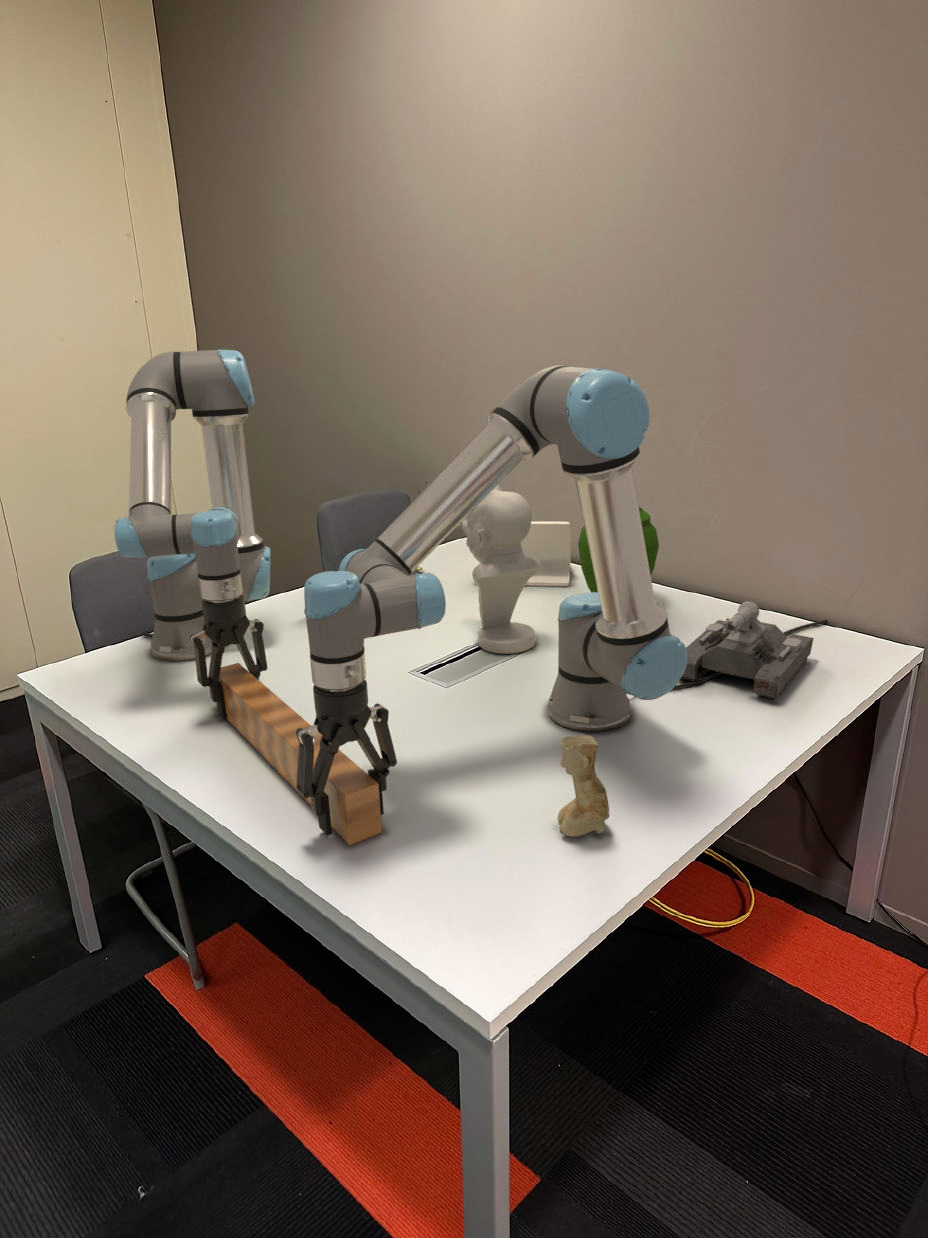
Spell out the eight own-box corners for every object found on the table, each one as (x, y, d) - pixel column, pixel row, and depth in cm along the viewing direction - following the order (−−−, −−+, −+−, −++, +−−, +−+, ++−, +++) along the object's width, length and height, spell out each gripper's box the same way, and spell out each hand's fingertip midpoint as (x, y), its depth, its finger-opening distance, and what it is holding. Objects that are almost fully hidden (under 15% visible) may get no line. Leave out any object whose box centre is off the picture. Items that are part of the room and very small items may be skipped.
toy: (717, 640, 190) (723, 576, 185) (811, 659, 179) (819, 592, 174) (673, 681, 171) (677, 611, 166) (774, 705, 160) (782, 631, 155)
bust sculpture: (498, 614, 210) (496, 472, 198) (553, 646, 190) (555, 490, 178) (440, 626, 203) (434, 481, 191) (491, 661, 183) (488, 500, 171)
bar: (217, 709, 166) (211, 669, 163) (243, 701, 169) (238, 662, 166) (349, 845, 123) (344, 795, 120) (382, 832, 126) (378, 783, 123)
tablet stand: (569, 585, 229) (570, 524, 223) (476, 584, 232) (475, 523, 226) (570, 566, 246) (571, 508, 240) (484, 564, 249) (483, 507, 243)
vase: (599, 587, 227) (601, 497, 218) (668, 600, 216) (673, 505, 208) (562, 608, 212) (564, 513, 204) (634, 623, 202) (639, 523, 193)
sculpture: (554, 820, 127) (555, 731, 122) (601, 816, 128) (604, 727, 122) (563, 843, 122) (564, 751, 116) (612, 839, 122) (616, 746, 117)
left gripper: (178, 613, 148) (197, 732, 156) (278, 591, 157) (290, 704, 166) (165, 602, 153) (184, 717, 162) (262, 581, 163) (275, 691, 171)
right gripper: (281, 712, 111) (298, 858, 119) (417, 671, 122) (424, 808, 130) (259, 692, 117) (276, 833, 125) (390, 655, 128) (398, 787, 136)
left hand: (238, 710), depth 164 cm, fingers closed on bar, 5 cm apart
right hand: (351, 820), depth 127 cm, fingers open, 8 cm apart
